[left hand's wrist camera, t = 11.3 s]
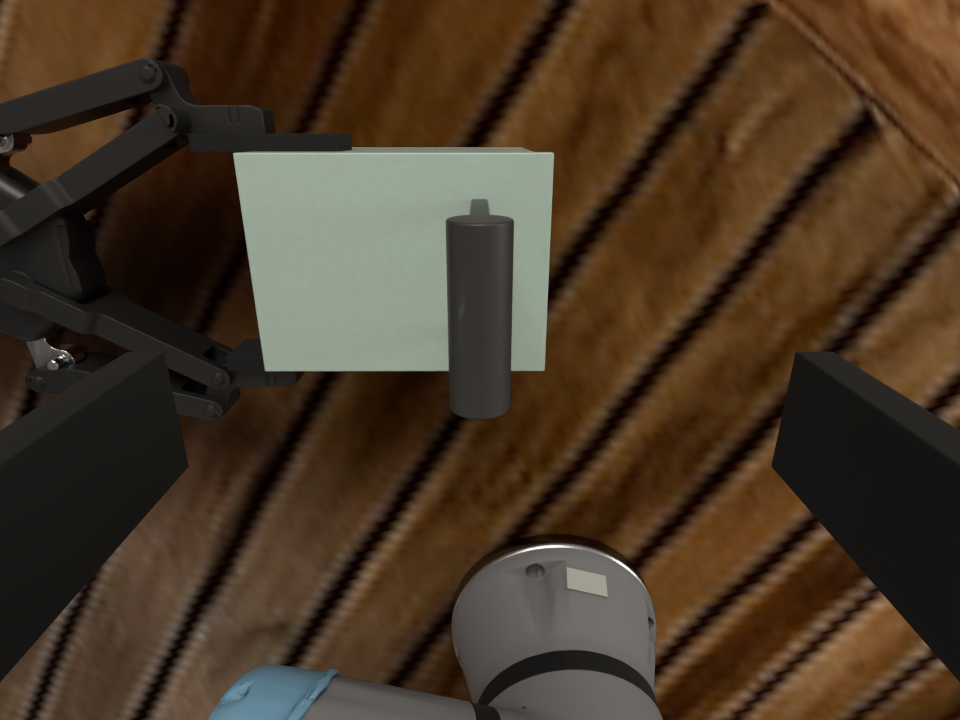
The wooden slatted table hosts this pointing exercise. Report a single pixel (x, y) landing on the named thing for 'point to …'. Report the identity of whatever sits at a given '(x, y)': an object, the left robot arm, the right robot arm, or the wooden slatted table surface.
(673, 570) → the wooden slatted table surface
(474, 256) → the lid
